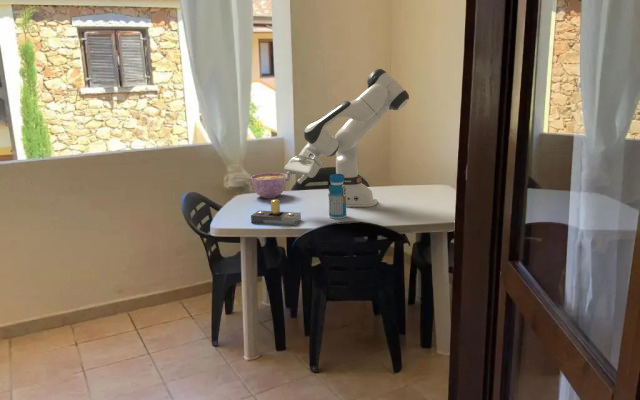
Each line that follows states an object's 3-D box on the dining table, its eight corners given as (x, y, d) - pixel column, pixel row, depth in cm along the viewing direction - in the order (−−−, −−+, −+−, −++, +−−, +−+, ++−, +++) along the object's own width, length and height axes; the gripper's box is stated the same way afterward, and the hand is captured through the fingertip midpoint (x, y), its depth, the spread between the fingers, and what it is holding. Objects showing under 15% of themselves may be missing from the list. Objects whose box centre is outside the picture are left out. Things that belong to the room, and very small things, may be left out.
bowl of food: (294, 194, 292) (293, 174, 290) (273, 202, 276) (272, 181, 273) (266, 191, 303) (265, 171, 300) (244, 198, 287) (242, 178, 284)
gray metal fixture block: (300, 219, 242) (300, 211, 241) (294, 225, 233) (294, 216, 232) (259, 217, 248) (258, 209, 247) (251, 222, 239) (250, 214, 238)
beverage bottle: (333, 220, 240) (332, 177, 235) (326, 215, 247) (324, 174, 242) (349, 217, 243) (349, 175, 238) (341, 213, 250) (341, 172, 246)
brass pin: (280, 220, 242) (279, 199, 240) (280, 222, 239) (279, 201, 236) (271, 220, 242) (270, 199, 240) (271, 222, 238) (270, 201, 236)
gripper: (290, 152, 254) (275, 174, 250) (317, 156, 239) (302, 180, 235) (298, 159, 258) (283, 182, 254) (325, 164, 243) (310, 188, 239)
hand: (292, 181), depth 244 cm, fingers open, 8 cm apart
